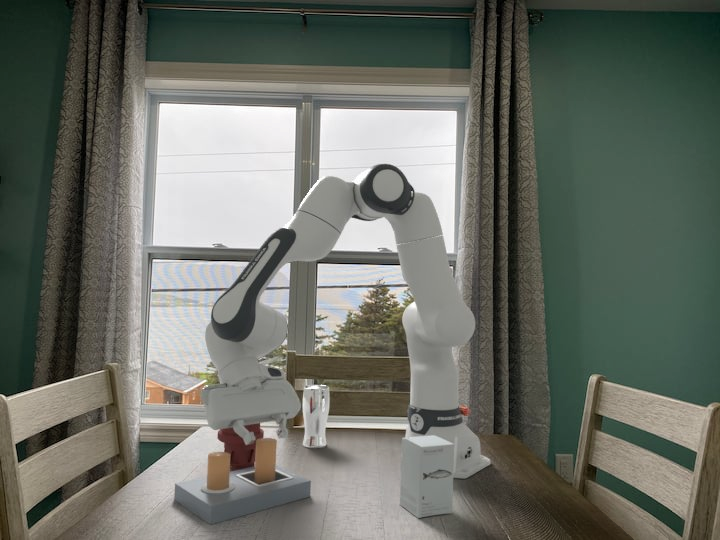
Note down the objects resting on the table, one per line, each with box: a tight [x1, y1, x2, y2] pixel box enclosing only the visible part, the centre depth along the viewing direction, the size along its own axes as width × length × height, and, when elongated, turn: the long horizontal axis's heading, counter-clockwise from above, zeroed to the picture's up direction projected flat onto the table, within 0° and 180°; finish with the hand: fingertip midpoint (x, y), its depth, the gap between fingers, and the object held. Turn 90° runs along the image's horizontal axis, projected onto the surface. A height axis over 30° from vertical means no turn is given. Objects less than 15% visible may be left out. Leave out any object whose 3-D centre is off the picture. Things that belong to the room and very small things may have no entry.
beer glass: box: [302, 384, 330, 449], centre depth 142 cm, size 7×7×15 cm
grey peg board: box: [173, 451, 312, 525], centre depth 104 cm, size 21×14×9 cm, turn 133°
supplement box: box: [399, 435, 454, 519], centre depth 102 cm, size 7×7×13 cm
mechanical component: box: [217, 423, 265, 471], centre depth 122 cm, size 12×10×10 cm
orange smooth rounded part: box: [254, 437, 278, 485], centre depth 107 cm, size 4×4×9 cm
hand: (267, 439), depth 107 cm, fingers open, 6 cm apart
